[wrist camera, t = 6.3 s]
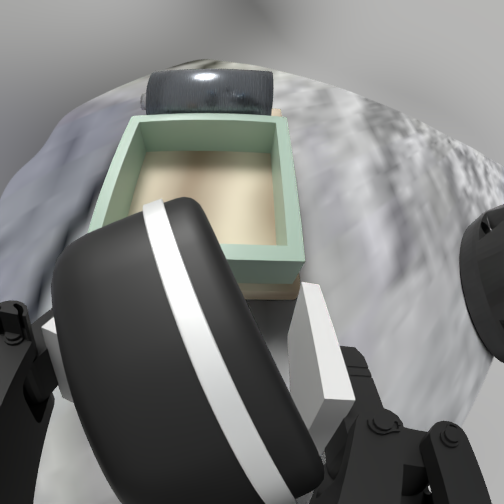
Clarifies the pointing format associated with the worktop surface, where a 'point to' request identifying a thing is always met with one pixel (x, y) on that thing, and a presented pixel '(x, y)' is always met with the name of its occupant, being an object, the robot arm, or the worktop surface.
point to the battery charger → (175, 367)
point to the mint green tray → (216, 170)
